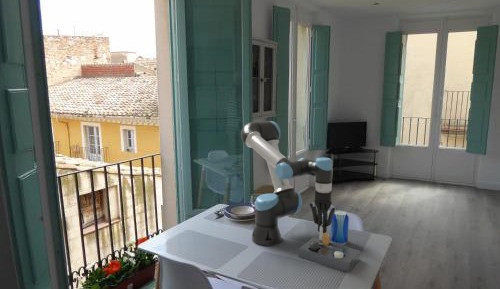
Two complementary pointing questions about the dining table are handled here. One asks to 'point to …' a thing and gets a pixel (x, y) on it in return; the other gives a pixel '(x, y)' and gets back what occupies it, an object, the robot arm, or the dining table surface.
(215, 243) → the dining table surface
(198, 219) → the dining table surface
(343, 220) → the beer can
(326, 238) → the toggle knob
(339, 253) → the white button
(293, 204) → the robot arm
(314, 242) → the black button
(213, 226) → the dining table surface
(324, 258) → the panel
